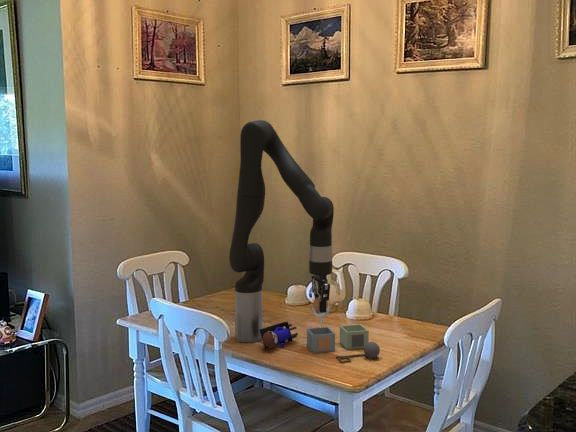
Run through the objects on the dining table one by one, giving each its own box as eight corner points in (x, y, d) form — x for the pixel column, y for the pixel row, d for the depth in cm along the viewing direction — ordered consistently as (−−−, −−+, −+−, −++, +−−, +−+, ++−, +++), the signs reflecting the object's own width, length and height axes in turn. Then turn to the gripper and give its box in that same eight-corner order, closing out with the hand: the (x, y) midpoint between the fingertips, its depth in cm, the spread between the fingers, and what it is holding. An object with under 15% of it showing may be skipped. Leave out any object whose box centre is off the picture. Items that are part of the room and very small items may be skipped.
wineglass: (328, 335, 213) (328, 302, 211) (312, 334, 214) (311, 301, 212) (330, 330, 218) (330, 297, 217) (314, 329, 219) (314, 297, 218)
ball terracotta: (330, 313, 196) (330, 298, 195) (315, 314, 195) (315, 299, 194) (325, 309, 201) (325, 294, 200) (311, 310, 200) (311, 295, 199)
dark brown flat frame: (339, 363, 186) (339, 361, 186) (335, 358, 190) (335, 356, 190) (379, 359, 189) (379, 357, 188) (374, 354, 193) (374, 352, 193)
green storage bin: (347, 350, 197) (347, 332, 196) (339, 343, 204) (339, 325, 204) (368, 348, 198) (368, 330, 198) (360, 341, 206) (360, 324, 205)
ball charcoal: (366, 361, 187) (367, 345, 186) (361, 355, 192) (361, 340, 191) (382, 359, 188) (382, 344, 187) (376, 354, 193) (376, 339, 192)
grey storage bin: (313, 353, 194) (312, 335, 193) (306, 345, 202) (306, 328, 201) (335, 351, 196) (335, 333, 195) (328, 344, 203) (328, 326, 203)
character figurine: (301, 343, 205) (269, 355, 195) (286, 337, 210) (254, 348, 200) (302, 321, 204) (270, 332, 193) (287, 316, 209) (254, 326, 198)
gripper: (338, 262, 189) (338, 315, 192) (325, 254, 203) (325, 303, 205) (315, 263, 188) (315, 317, 190) (303, 255, 202) (303, 304, 204)
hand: (320, 309), depth 198 cm, fingers closed on ball terracotta, 5 cm apart
